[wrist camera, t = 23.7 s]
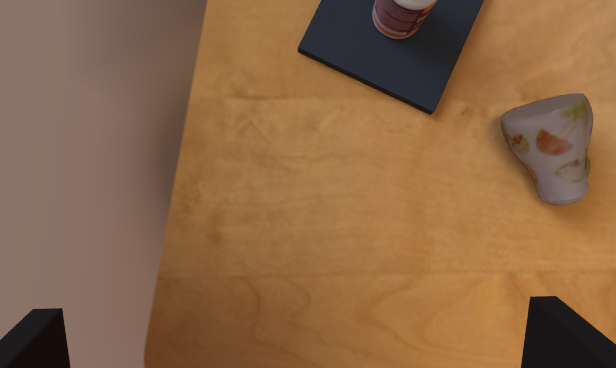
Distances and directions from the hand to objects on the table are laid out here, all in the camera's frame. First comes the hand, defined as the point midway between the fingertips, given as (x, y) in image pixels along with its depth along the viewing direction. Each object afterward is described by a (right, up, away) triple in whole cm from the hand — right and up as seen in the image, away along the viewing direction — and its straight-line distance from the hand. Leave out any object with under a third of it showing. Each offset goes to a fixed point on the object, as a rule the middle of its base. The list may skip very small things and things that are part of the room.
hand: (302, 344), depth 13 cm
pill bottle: (+8, +20, +30) cm, 37 cm away
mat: (+8, +20, +31) cm, 38 cm away
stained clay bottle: (+22, +7, +30) cm, 38 cm away
